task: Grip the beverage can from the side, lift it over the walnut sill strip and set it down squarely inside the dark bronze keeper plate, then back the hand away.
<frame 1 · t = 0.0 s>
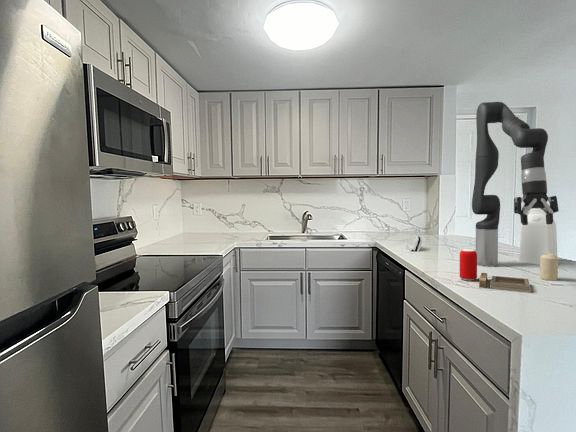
hand: (537, 224, 126), 22 cm above the countertop, tool pointing down, fingers open, 8 cm apart
sill: (483, 283, 131), on the countertop
beverage can: (468, 279, 137), on the countertop
milk: (538, 262, 165), on the countertop
hinge: (414, 249, 212), on the countertop
candle: (548, 279, 134), on the countertop
keeper: (509, 286, 125), on the countertop
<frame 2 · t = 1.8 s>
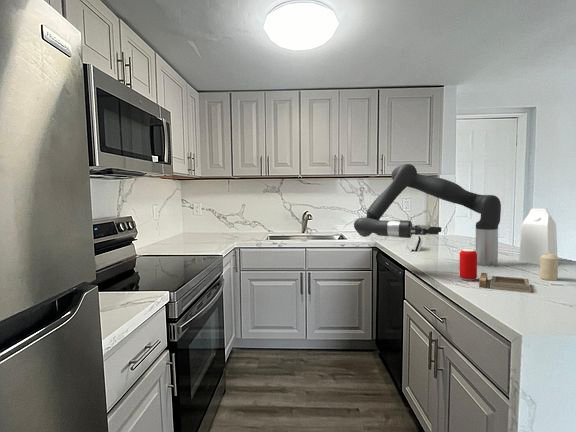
hand: (439, 230, 141), 19 cm above the countertop, tool horizontal, fingers open, 8 cm apart
nothing on the countertop moved.
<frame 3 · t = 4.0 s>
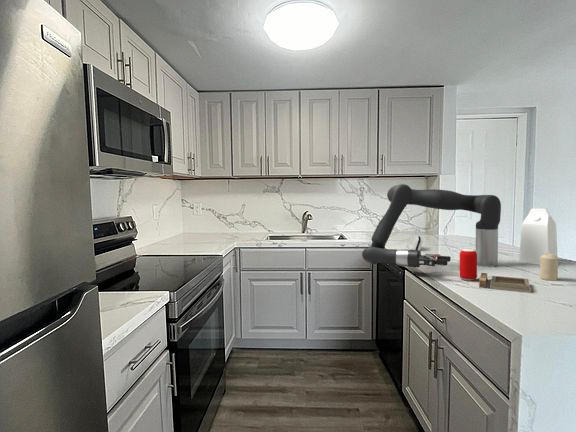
hand: (449, 260, 141), 7 cm above the countertop, tool horizontal, fingers open, 8 cm apart
nothing on the countertop moved.
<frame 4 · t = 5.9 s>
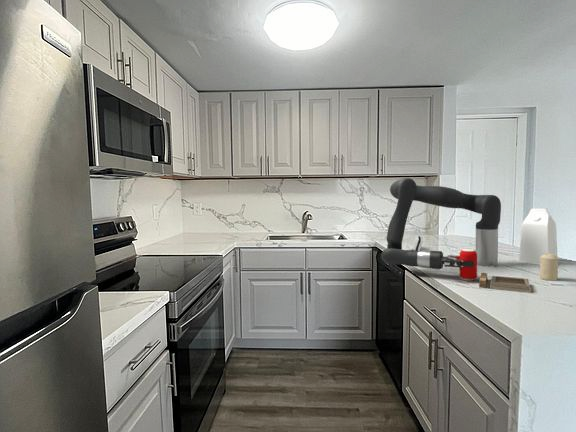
hand: (474, 262, 135), 7 cm above the countertop, tool horizontal, fingers closed on beverage can, 6 cm apart
beverage can: (468, 279, 137), on the countertop, touching gripper
everything else where it was.
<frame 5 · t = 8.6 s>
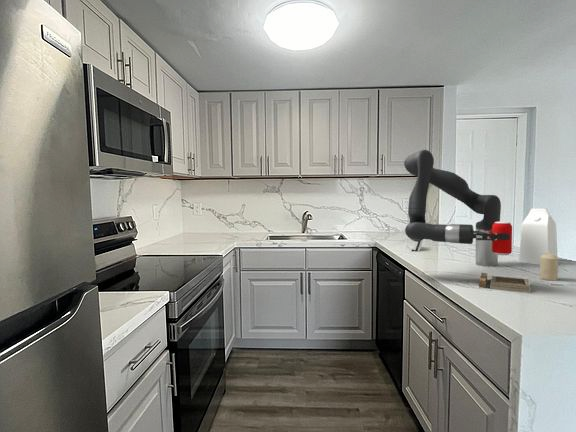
hand: (509, 235, 125), 19 cm above the countertop, tool horizontal, fingers closed on beverage can, 6 cm apart
beverage can: (501, 254, 127), point 11 cm above the countertop, touching gripper
everything else where it was.
when the fingers open (9 cm above the countertop, at t = 11.2 s): beverage can stays where it is, resting on keeper.
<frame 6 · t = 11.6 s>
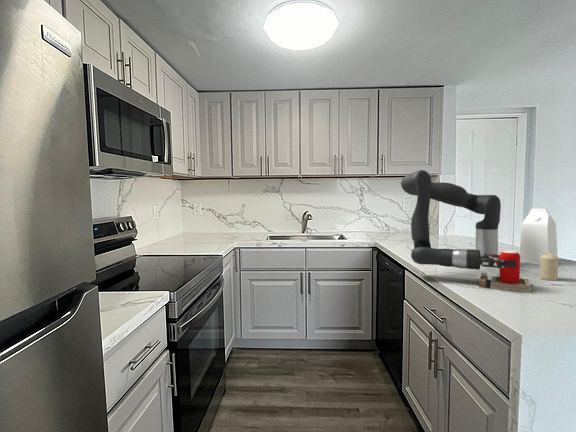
hand: (516, 262, 124), 9 cm above the countertop, tool horizontal, fingers open, 8 cm apart
beverage can: (509, 284, 126), point 1 cm above the countertop, touching keeper
everything else where it was.
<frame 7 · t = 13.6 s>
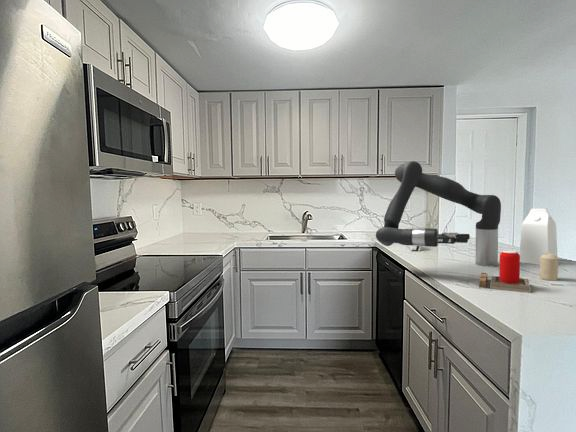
hand: (468, 238, 134), 17 cm above the countertop, tool horizontal, fingers open, 8 cm apart
nothing on the countertop moved.
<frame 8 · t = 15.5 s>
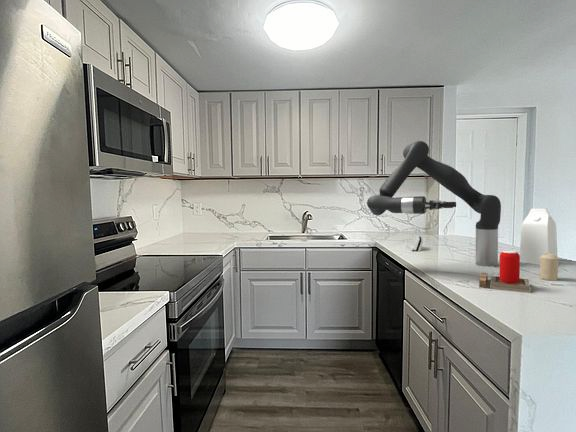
hand: (454, 204, 140), 30 cm above the countertop, tool horizontal, fingers open, 8 cm apart
nothing on the countertop moved.
at the end: beverage can inside the target area on the keeper (0.2 cm from its centre), point 0.8 cm above the keeper's base; beverage can tilted 0°; the gripper is holding nothing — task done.
